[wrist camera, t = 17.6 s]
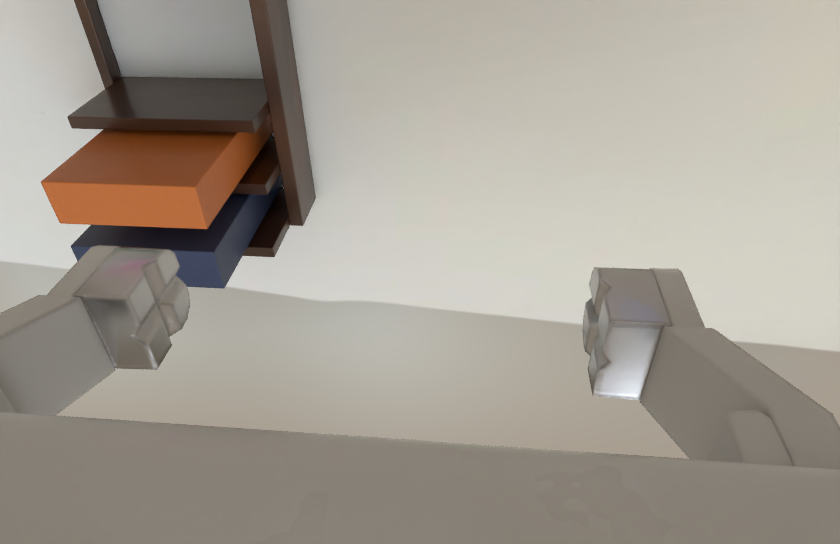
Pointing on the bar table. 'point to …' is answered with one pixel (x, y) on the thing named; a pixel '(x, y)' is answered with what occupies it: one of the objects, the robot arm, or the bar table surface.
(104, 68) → the book rack
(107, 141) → the orange book
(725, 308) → the bar table surface
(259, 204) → the navy book
